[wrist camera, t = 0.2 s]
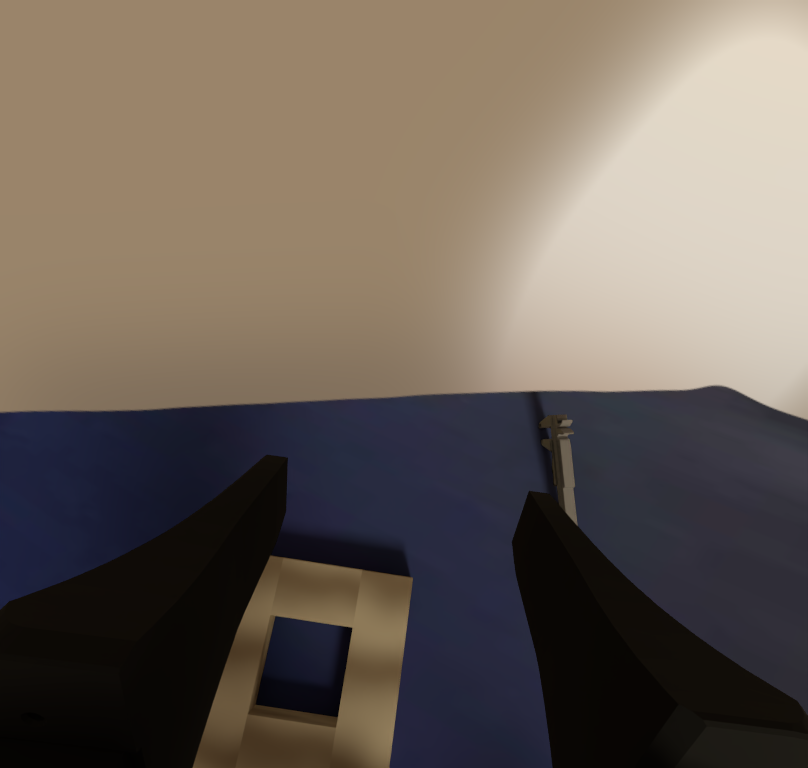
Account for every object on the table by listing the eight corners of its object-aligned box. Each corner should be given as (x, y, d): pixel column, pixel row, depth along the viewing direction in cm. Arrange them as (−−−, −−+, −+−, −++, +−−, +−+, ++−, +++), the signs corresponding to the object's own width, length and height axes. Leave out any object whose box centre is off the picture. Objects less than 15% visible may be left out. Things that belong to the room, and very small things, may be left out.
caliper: (536, 424, 48) (558, 405, 42) (546, 424, 48) (569, 405, 42) (574, 639, 41) (607, 653, 35) (585, 638, 41) (621, 652, 35)
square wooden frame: (383, 793, 35) (383, 809, 33) (184, 763, 35) (171, 777, 33) (410, 576, 41) (412, 578, 39) (240, 550, 41) (232, 550, 39)
